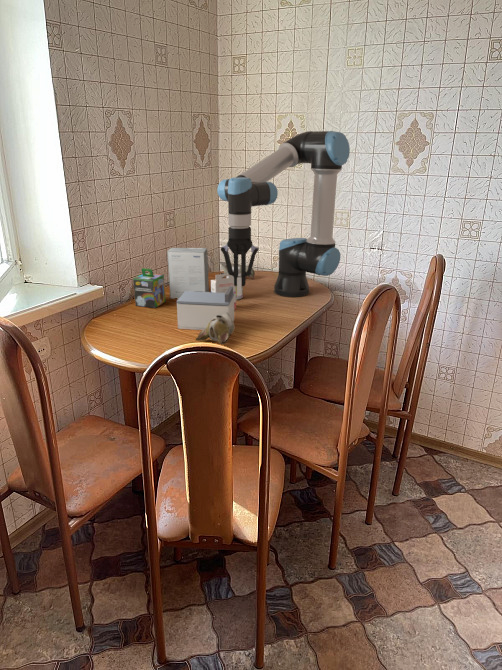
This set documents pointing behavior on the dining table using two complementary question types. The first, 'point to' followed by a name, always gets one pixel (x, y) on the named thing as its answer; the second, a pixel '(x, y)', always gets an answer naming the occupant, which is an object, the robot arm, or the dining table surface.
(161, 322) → the dining table surface
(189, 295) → the lid
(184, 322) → the box
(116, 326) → the dining table surface
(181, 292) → the hard drive box
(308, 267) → the robot arm
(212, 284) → the ink cartridge box
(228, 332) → the ceramic sculpture
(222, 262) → the decorative bird
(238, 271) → the supplement bottle
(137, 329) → the dining table surface
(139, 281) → the chalk box
